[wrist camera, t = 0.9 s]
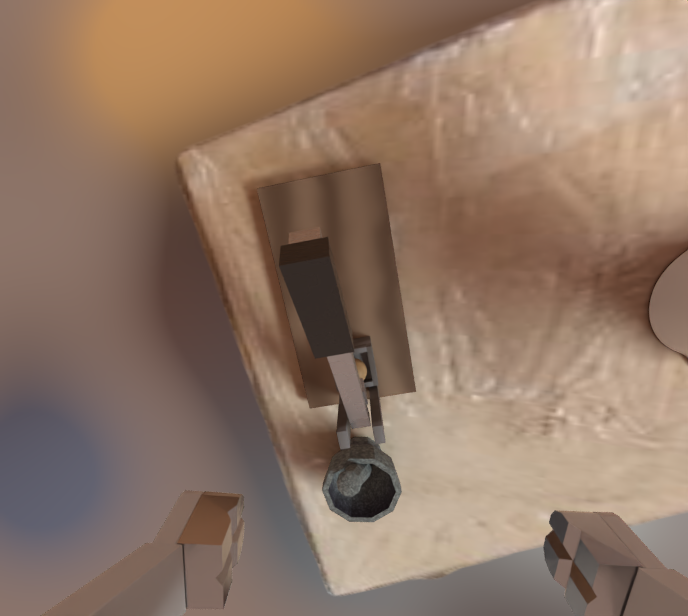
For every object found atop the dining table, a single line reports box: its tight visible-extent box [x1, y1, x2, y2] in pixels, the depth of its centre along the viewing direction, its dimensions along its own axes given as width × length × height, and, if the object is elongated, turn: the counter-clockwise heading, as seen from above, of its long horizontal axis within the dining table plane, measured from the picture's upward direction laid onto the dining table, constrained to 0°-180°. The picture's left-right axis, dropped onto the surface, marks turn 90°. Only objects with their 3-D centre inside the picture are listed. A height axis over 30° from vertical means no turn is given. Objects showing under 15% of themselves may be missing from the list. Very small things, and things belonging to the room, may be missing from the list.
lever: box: [279, 227, 371, 429], centre depth 31 cm, size 3×24×4 cm, turn 11°
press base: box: [257, 163, 416, 449], centre depth 40 cm, size 14×28×13 cm, turn 11°
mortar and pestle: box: [322, 437, 402, 522], centre depth 47 cm, size 11×9×12 cm
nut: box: [354, 358, 367, 380], centre depth 43 cm, size 3×3×3 cm
